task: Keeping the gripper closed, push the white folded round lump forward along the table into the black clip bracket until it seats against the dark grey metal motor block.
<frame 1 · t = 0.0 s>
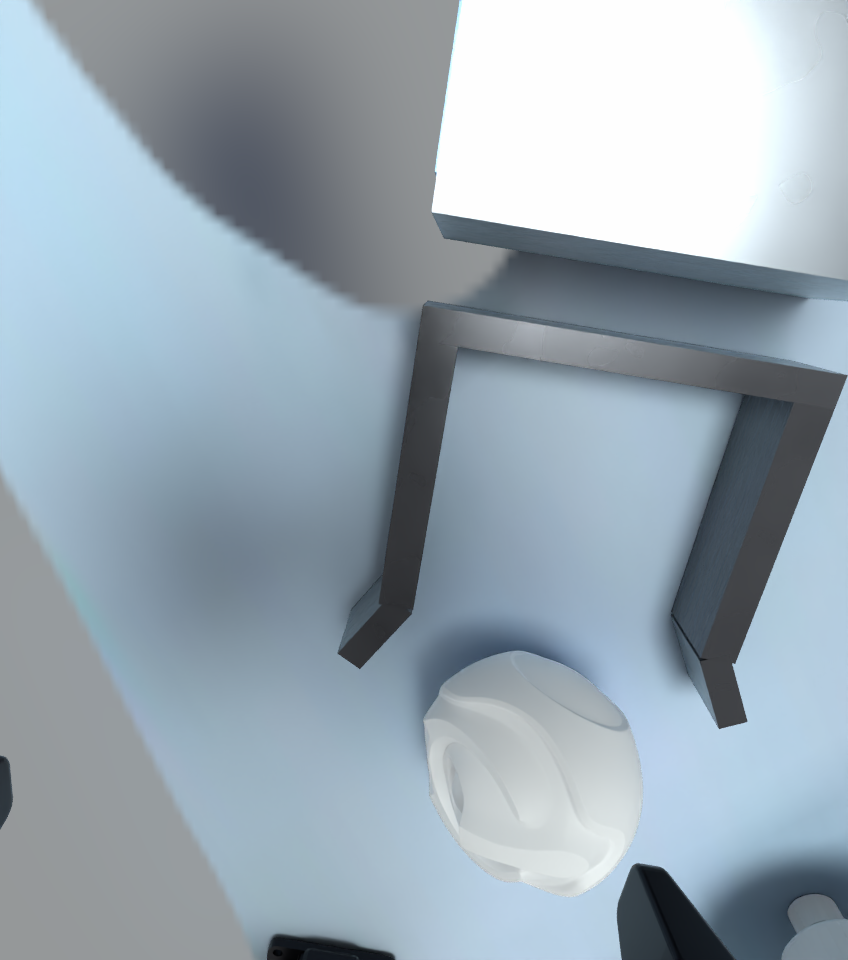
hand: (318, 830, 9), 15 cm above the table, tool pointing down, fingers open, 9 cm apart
white folded round lump: (518, 690, 25), on the table
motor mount: (581, 444, 22), on the table
showerhead: (815, 903, 28), on the table
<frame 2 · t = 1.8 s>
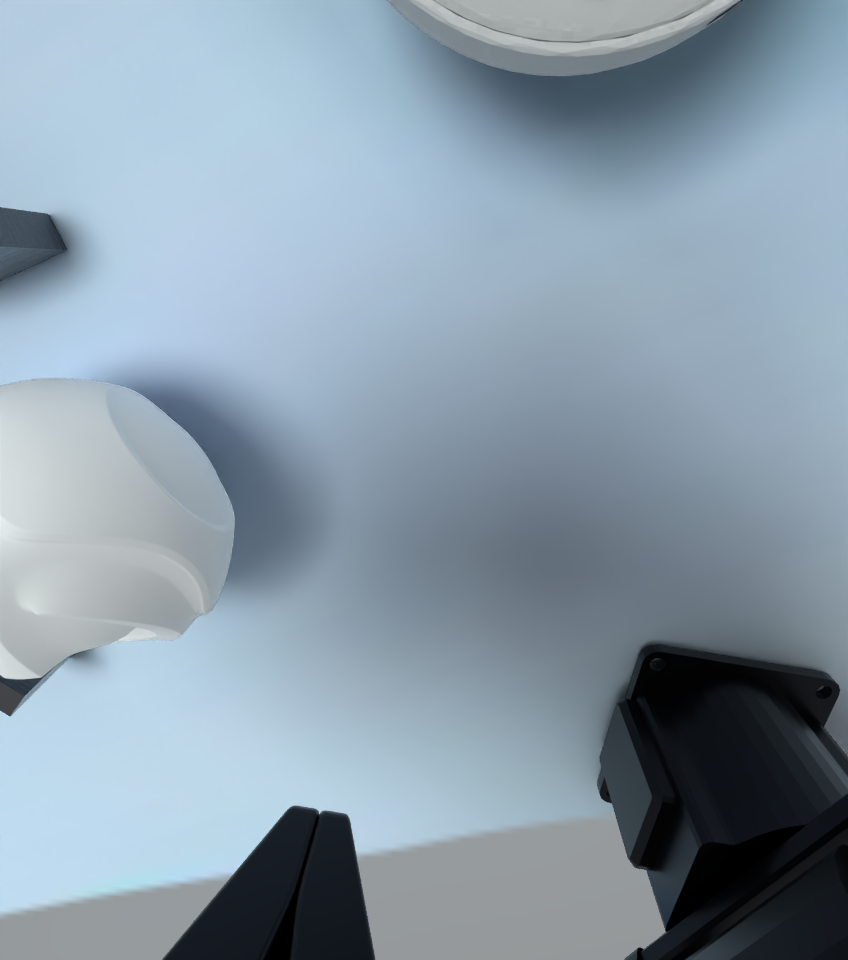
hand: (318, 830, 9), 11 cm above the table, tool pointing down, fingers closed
white folded round lump: (149, 476, 19), on the table
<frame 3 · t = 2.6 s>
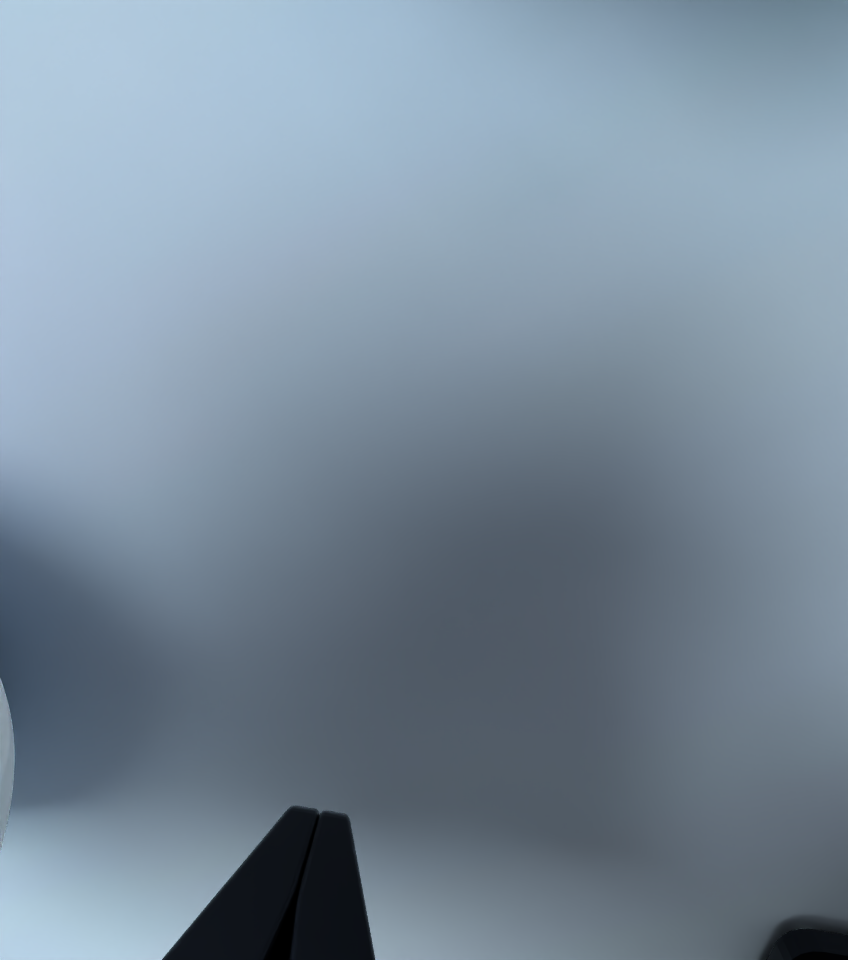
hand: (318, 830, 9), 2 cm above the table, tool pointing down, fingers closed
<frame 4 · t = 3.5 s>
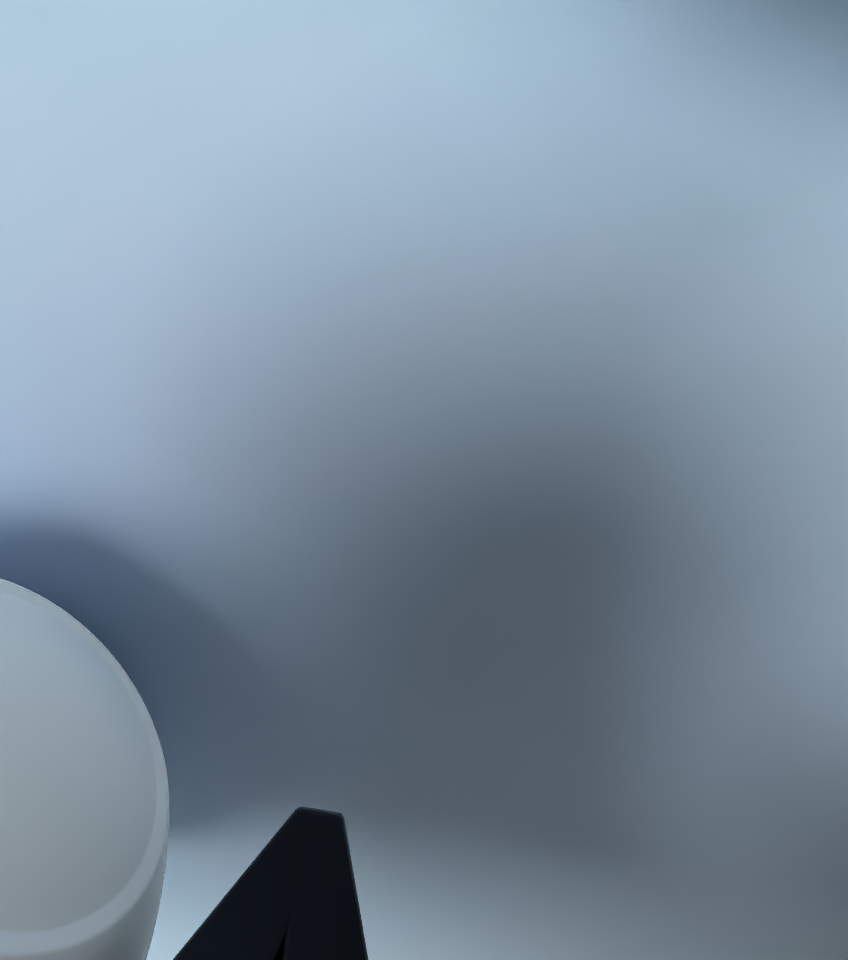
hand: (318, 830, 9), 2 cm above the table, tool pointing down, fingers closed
white folded round lump: (32, 667, 11), on the table, touching gripper
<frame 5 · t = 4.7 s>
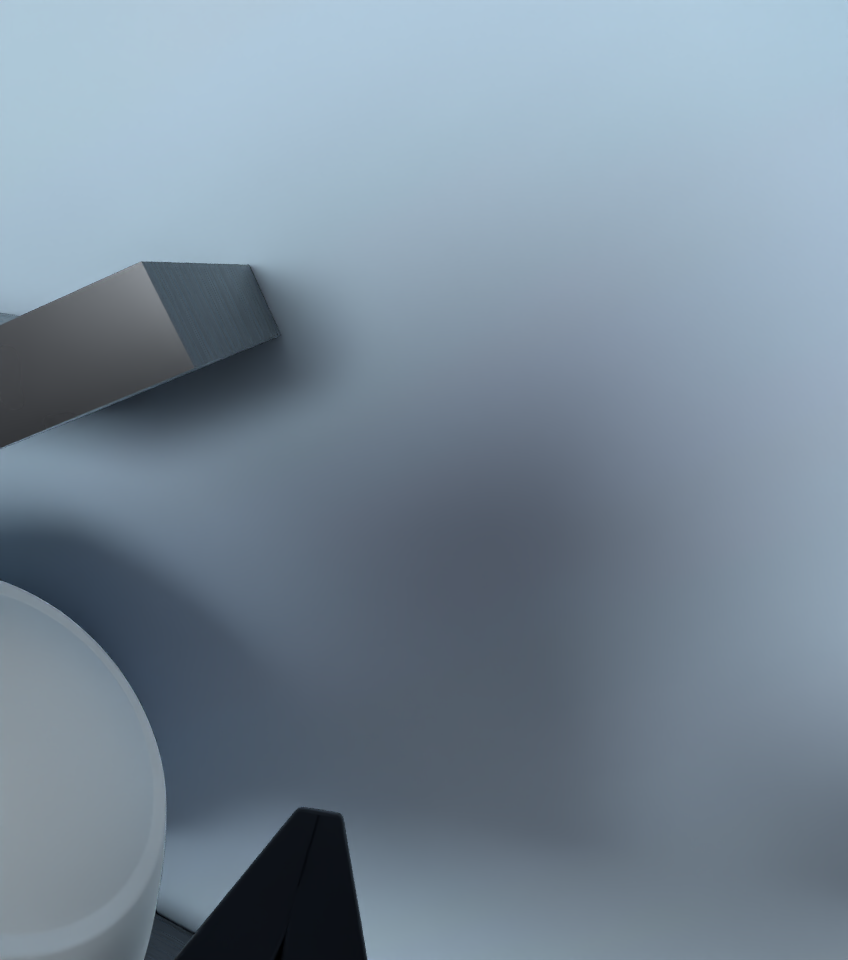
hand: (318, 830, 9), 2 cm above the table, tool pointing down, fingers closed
white folded round lump: (26, 667, 11), on the table, touching gripper
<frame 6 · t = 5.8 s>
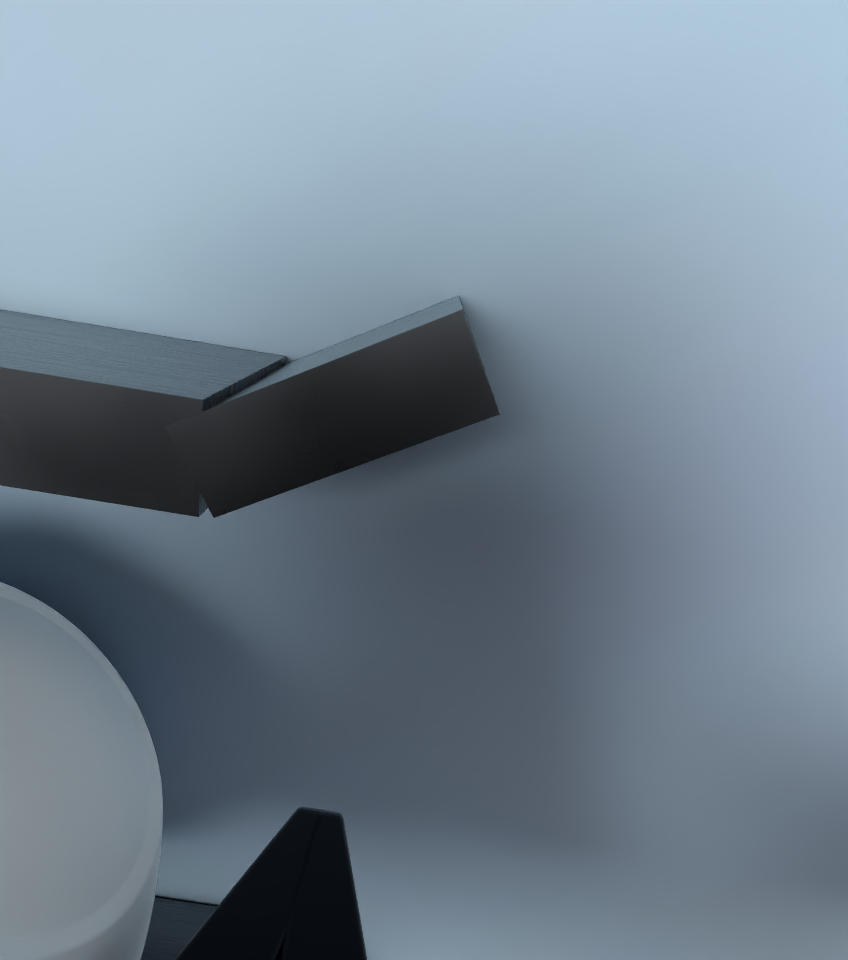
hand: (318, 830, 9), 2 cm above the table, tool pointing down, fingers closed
white folded round lump: (21, 667, 11), on the table, touching gripper
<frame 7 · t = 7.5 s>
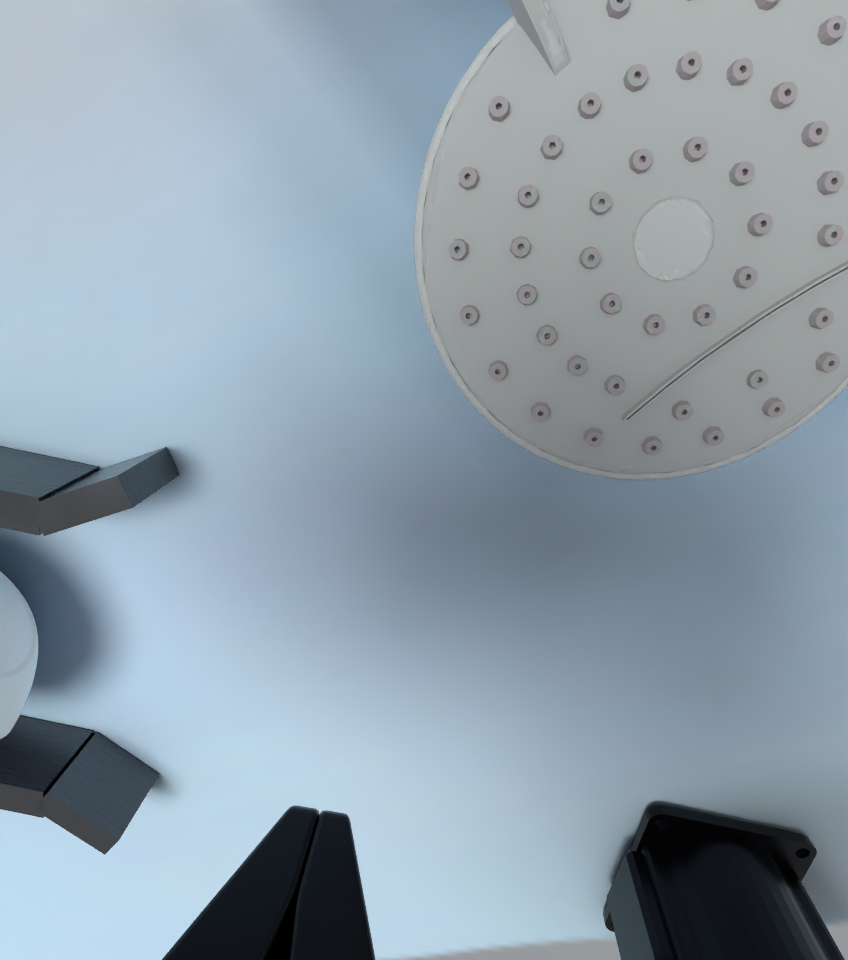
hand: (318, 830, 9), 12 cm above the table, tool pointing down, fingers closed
showerhead: (588, 245, 17), on the table
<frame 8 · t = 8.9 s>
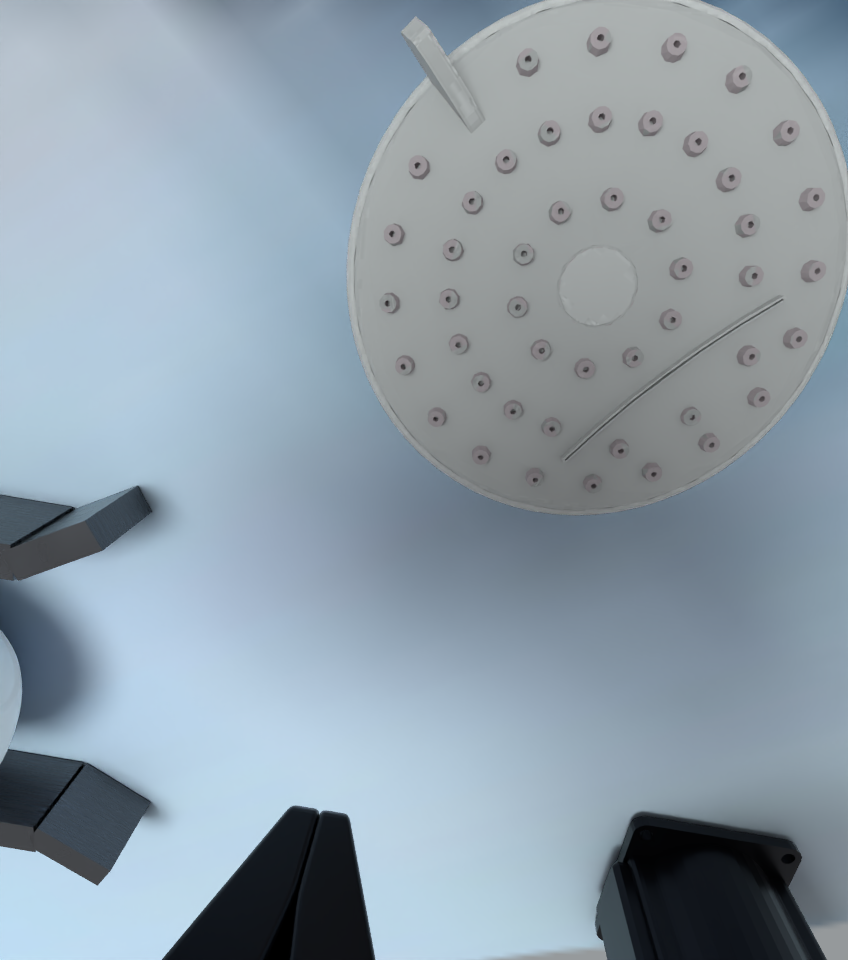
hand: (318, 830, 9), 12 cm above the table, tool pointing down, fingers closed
showerhead: (540, 273, 17), on the table
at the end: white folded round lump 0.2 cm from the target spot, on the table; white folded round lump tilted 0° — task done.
